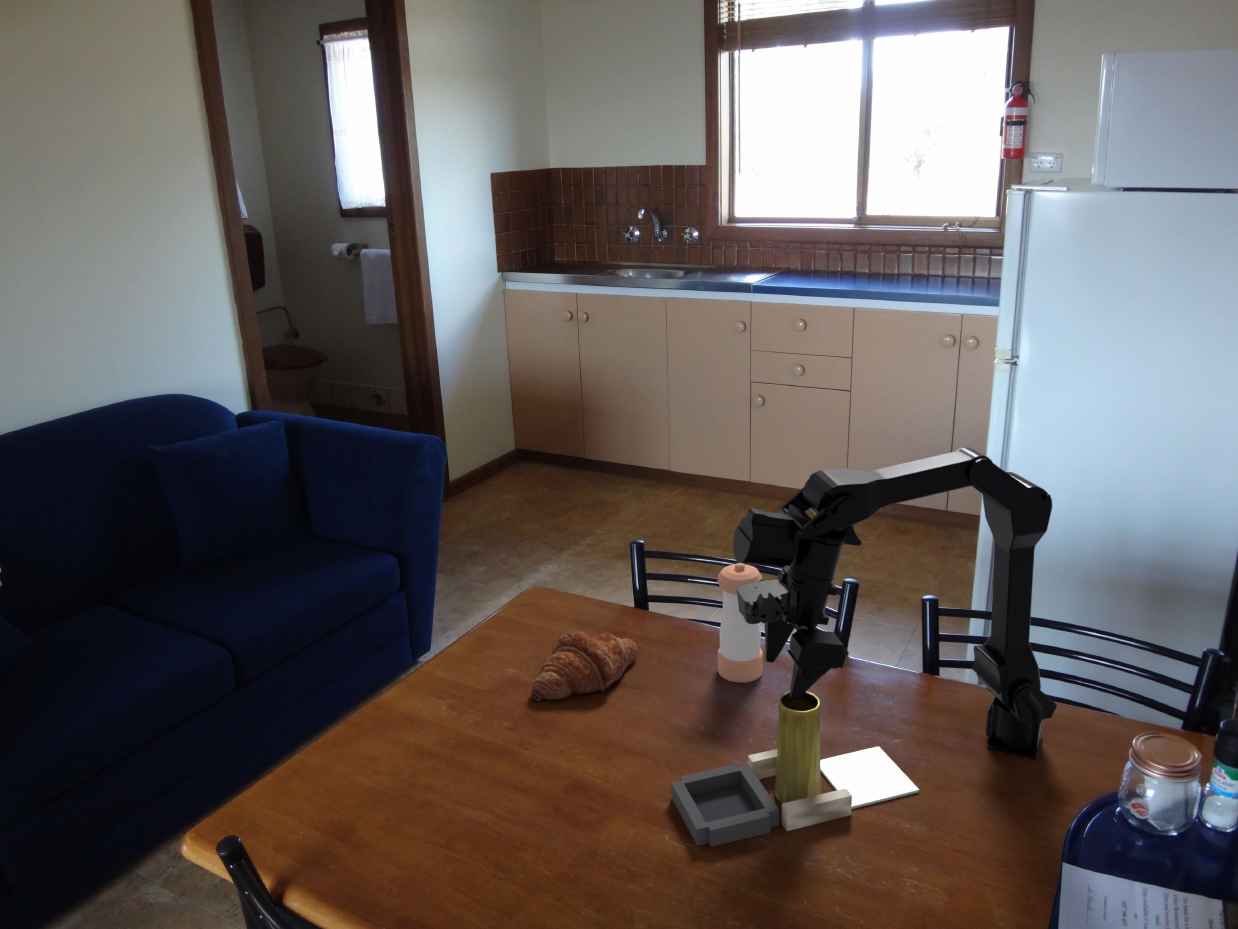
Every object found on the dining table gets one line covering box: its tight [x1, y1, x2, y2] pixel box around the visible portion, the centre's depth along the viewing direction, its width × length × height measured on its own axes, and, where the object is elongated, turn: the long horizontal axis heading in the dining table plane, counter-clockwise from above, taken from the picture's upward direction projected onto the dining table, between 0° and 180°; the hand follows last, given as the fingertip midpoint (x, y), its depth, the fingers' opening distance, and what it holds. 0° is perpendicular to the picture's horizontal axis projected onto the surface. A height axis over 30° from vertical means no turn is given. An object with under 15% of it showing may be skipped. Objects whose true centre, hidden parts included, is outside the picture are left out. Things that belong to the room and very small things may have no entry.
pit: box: [670, 763, 780, 848], centre depth 122 cm, size 11×11×2 cm
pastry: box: [530, 630, 639, 702], centre depth 154 cm, size 17×15×8 cm
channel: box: [747, 748, 853, 832], centre depth 125 cm, size 9×12×3 cm
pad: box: [820, 746, 920, 810], centre depth 128 cm, size 10×10×1 cm
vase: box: [773, 690, 822, 804], centre depth 123 cm, size 6×6×14 cm
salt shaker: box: [717, 562, 764, 683], centre depth 152 cm, size 7×7×19 cm
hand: (781, 679), depth 123 cm, fingers open, 9 cm apart
